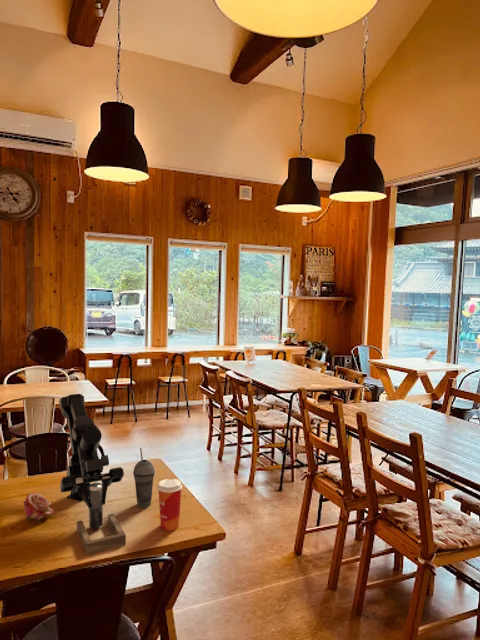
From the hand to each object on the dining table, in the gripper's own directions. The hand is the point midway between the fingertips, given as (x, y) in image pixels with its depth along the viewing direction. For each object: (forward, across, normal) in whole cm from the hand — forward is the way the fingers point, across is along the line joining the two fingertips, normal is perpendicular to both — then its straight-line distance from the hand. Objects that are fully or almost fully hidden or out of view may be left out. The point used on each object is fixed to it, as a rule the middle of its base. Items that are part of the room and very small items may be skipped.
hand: (96, 506), depth 145 cm
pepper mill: (+4, 0, +6) cm, 7 cm away
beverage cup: (-1, +18, +12) cm, 22 cm away
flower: (-5, -15, +17) cm, 23 cm away
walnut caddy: (+8, 0, +2) cm, 9 cm away
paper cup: (+11, +20, 0) cm, 23 cm away
